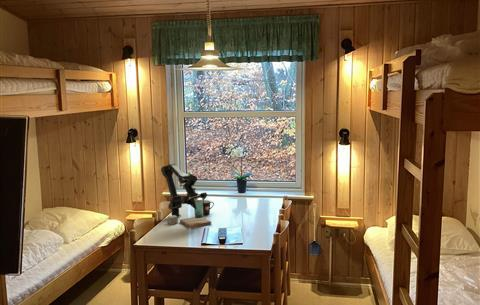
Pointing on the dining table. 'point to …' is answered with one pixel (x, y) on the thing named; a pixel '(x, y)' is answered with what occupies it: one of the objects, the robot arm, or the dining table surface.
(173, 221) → the grey block
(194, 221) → the walnut board
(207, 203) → the coffee mug
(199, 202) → the teal tin
